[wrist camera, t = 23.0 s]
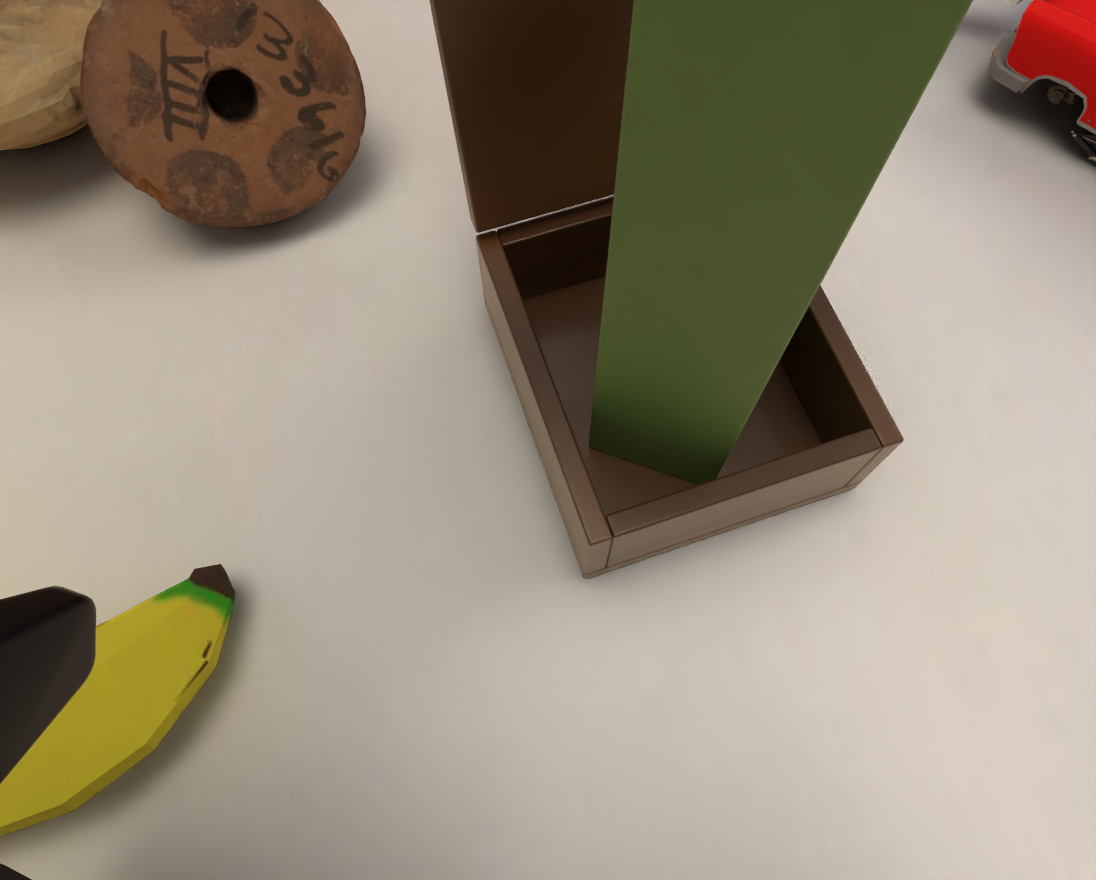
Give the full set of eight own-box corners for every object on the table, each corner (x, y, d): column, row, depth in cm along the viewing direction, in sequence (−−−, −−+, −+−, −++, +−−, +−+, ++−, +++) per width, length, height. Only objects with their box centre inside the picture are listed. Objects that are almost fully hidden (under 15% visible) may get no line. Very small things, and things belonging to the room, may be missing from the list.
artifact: (118, 195, 28) (111, 246, 24) (62, -65, 24) (43, -53, 20) (347, 185, 31) (373, 230, 27) (331, -51, 27) (359, -38, 23)
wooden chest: (855, 487, 24) (905, 440, 20) (584, 580, 23) (589, 546, 19) (727, 233, 27) (751, 155, 24) (485, 304, 26) (474, 234, 23)
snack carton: (710, 489, 23) (1047, -136, 7) (587, 447, 24) (653, -222, 8) (757, 339, 25) (1111, -424, 9) (642, 303, 25) (788, -480, 10)
